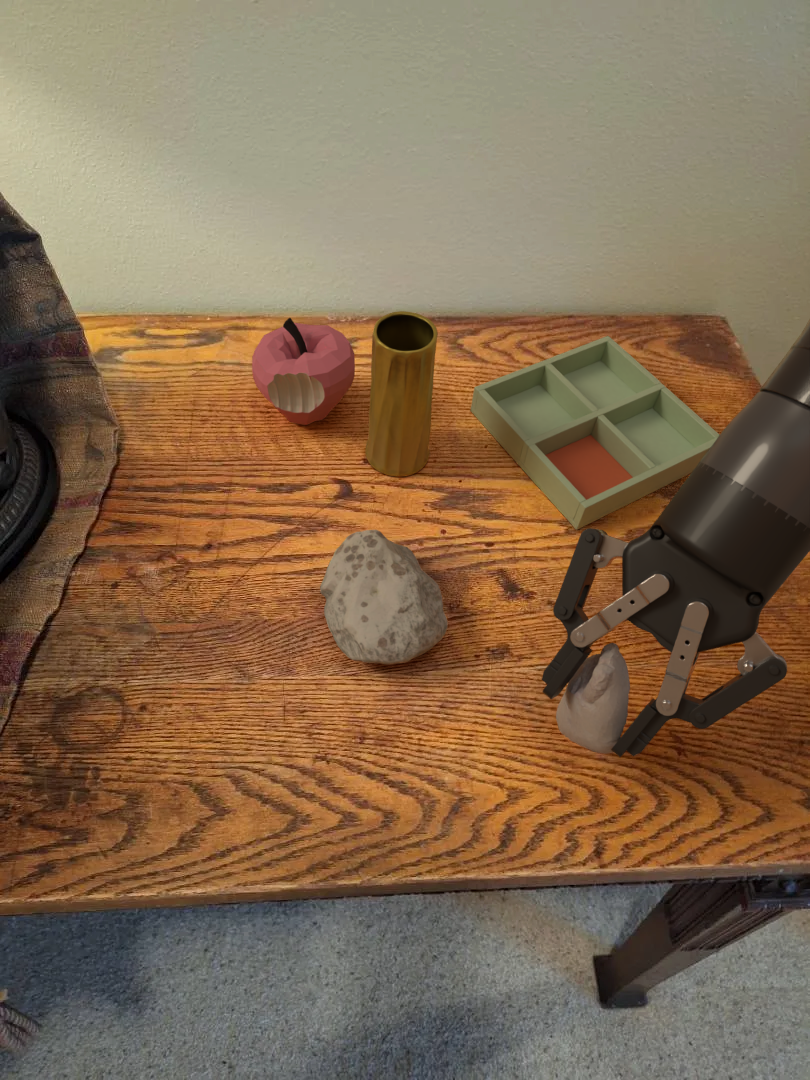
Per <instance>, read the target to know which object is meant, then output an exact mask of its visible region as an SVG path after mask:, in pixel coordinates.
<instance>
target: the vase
mask: <svg viewBox="0 0 810 1080" xmlns="http://www.w3.org/2000/svg"><path fill="white" fill-rule="evenodd" d="M371 337H372V339H371V363H370V382H371V383H370V392H369V408H368V409H369V410H368V437H367V441H366V446H365V452H364V453H365V457H366V460H367V462H368V463H369V465H370V467H372V468H373V469H375V471H377V472H379V473H381V474H384V475H386V476H389V477H398V478H399V477H407V476H412V475H414V474H416V473H418V472H420V471H421V470H422V469H424V468H425V466H426V465H427V463H428V461H429V459H430V455H431V454H430V442H431V441H430V440H431V429H432V410H433V409H432V407H433V391H434V377H435V376H434V375H435V363H436V362H435V360H436V351H437V344H438V343H437V342H438V329H437V327H436V325H435V323H434V322H433V321H432V320H431V319H430V318H428V317H426V316H425V315H422V314H420V313H417V312H412V311H405V310H403V311H402V310H399V311H393V312H389V313H387V314H385V315H383V316H381V317H380V318H379V319H378V320H376V322H375V324H374V327H373V330H372V336H371Z"/></svg>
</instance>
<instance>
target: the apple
mask: <svg viewBox="0 0 810 1080" xmlns="http://www.w3.org/2000/svg"><path fill="white" fill-rule="evenodd" d="M253 351H254V352H253V354H252V356H251V371H252V372H251V373H252V379H253V381H254V384H255V386H256V388H257V389H258V390H259V392H260V393H261V395H262V396H263V397H264V398H265V399H266V400H267V401H269V403H271V405H273V406H274V408H275V409H276V410H277V411H279V413H280V414H281V415H283V416H284V417H285V419H286V420H287V421H288V422H289V423H292V424H297V425H303V426H307V425H310V424H312V423H314V422H318V421H322V420H323V421H324V419H325V418H326V417H327V416H328V415H329V414H330V412H331V411H332V410H333V409H334V408H336V406H337V405H338V404H339V403H340V401H341V400H342V399H343V398H344V397H345V395H346V393H348V391H349V389H350V388H351V387H352V385H353V382H354V379H355V375H356V373H355V372H356V360H355V359H356V357H355V356H356V355H355V354H356V353H355V351H354V348H353V347H352V345H351V342H350V341H349V339H347V338H346V336H345V335H344V334H343V332H341V331H339V330H338V329H336V328H334V327H332V326H330V325H327V324H307V323H300V322H294V321H293V319H292V318H291V317H289V318H287V319H286V320H285V321H284V323H283V325H282V326H280V327H278V328H275V329H274V330H272V331H269V332H267V333H265V334H264V335H263V336H261V339H260V341H258V344H257V346H256V347H255V349H254V350H253Z"/></svg>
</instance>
